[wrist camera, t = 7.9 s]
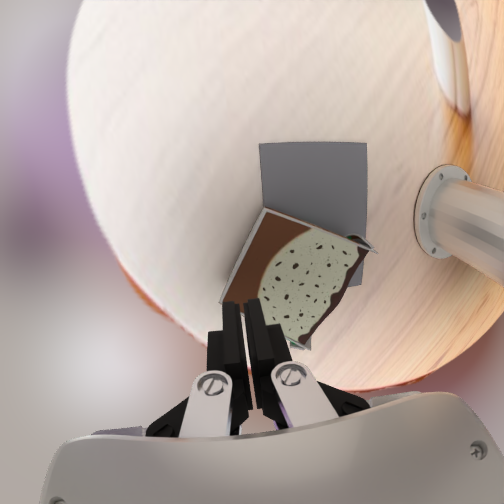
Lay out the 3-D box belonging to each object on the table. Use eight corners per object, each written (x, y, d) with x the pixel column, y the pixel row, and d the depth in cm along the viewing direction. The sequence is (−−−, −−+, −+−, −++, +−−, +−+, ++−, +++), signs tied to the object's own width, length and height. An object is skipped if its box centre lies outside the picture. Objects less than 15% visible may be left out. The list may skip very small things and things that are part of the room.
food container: (224, 284, 30) (304, 319, 31) (212, 315, 24) (307, 354, 25) (274, 181, 26) (361, 227, 26) (273, 190, 20) (381, 247, 21)
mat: (364, 142, 24) (366, 143, 24) (359, 283, 30) (361, 284, 30) (258, 143, 23) (259, 143, 23) (269, 297, 29) (269, 299, 29)
